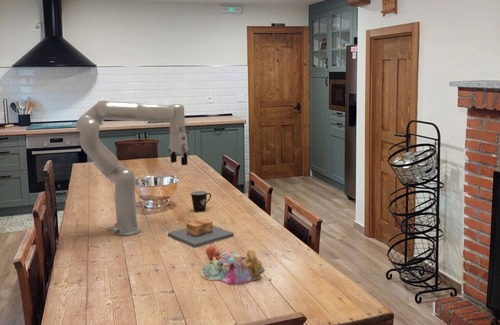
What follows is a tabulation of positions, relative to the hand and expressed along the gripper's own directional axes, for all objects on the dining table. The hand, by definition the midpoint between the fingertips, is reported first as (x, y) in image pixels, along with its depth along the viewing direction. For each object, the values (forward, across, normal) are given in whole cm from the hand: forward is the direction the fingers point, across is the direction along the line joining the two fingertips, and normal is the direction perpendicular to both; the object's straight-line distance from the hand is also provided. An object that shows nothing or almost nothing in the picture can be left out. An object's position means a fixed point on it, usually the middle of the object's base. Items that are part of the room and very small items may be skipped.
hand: (179, 163), depth 263 cm
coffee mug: (+31, +10, -20) cm, 38 cm away
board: (+30, -25, +6) cm, 40 cm away
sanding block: (+29, -25, +6) cm, 39 cm away
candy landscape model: (+31, -69, +22) cm, 79 cm away
